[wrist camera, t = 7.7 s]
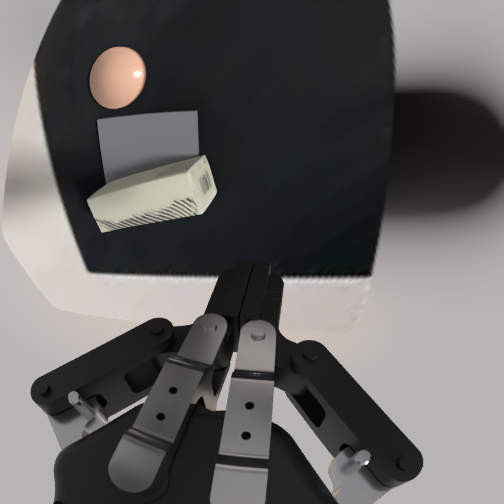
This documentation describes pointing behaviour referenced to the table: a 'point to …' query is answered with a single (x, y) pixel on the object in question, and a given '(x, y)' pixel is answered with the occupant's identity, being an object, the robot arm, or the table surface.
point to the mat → (146, 141)
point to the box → (154, 195)
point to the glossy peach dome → (117, 77)
